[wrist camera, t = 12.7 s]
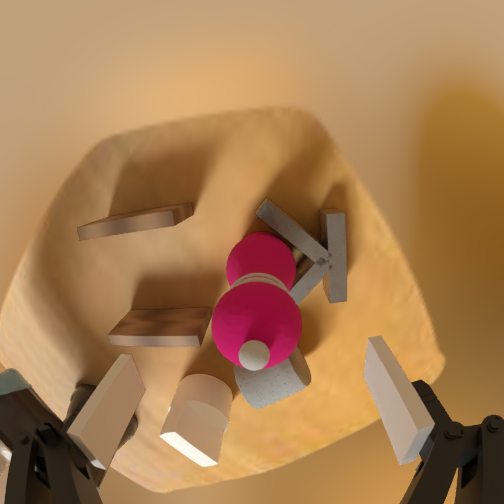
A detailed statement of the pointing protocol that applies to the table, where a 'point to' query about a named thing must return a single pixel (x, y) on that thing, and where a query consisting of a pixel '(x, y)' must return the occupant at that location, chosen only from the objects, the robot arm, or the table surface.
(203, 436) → the base with upright slab
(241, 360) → the pepper mill
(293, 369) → the ceramic mug
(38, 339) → the table surface
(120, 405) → the robot arm
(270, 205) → the letter k block
